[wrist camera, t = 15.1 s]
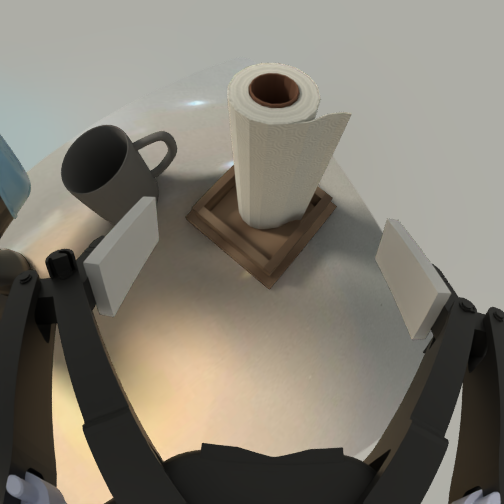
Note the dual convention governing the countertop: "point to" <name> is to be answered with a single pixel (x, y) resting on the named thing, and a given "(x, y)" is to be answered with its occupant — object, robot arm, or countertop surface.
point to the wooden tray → (256, 230)
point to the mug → (112, 170)
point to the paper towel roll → (278, 142)
